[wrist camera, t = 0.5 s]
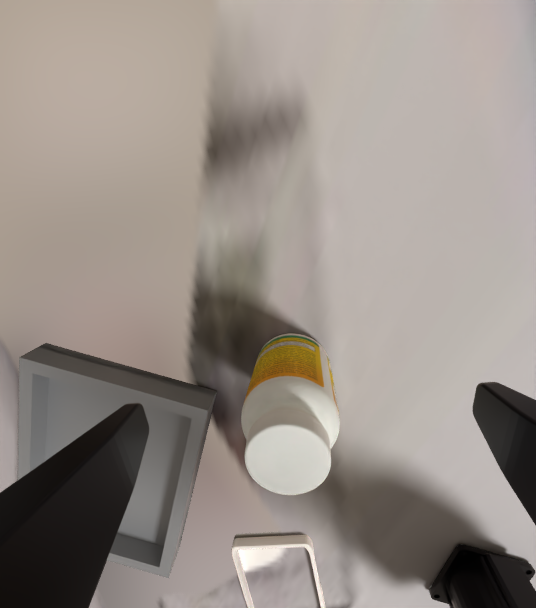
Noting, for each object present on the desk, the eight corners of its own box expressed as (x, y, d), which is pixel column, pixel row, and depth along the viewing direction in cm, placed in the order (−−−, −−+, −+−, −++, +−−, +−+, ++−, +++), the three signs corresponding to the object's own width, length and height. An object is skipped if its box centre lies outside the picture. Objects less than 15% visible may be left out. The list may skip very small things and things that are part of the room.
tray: (178, 549, 31) (168, 578, 28) (38, 508, 31) (16, 534, 28) (216, 391, 25) (208, 410, 23) (45, 343, 25) (19, 357, 23)
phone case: (232, 532, 30) (263, 639, 34) (229, 547, 29) (261, 656, 33) (310, 529, 29) (332, 639, 33) (311, 544, 28) (334, 657, 32)
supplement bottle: (343, 372, 24) (371, 477, 14) (285, 407, 25) (277, 524, 16) (300, 316, 23) (300, 391, 14) (242, 356, 24) (206, 449, 15)
